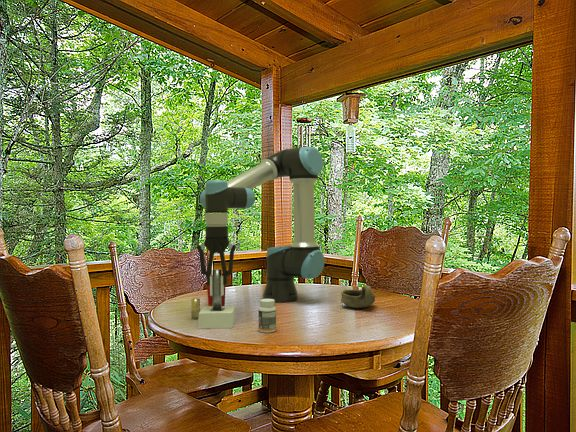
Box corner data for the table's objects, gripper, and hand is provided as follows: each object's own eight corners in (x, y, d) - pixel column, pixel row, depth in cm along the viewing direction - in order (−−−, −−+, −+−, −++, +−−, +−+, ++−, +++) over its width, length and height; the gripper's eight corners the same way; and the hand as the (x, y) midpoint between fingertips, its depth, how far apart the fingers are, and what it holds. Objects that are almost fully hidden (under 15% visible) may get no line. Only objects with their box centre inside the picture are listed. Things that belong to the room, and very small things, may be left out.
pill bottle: (258, 328, 149) (258, 298, 149) (275, 328, 150) (275, 298, 150) (258, 333, 144) (258, 301, 144) (276, 332, 144) (276, 301, 144)
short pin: (200, 317, 166) (200, 298, 166) (198, 319, 163) (199, 299, 163) (192, 317, 166) (192, 298, 166) (190, 319, 163) (190, 299, 163)
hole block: (235, 320, 161) (235, 306, 161) (232, 328, 150) (232, 312, 150) (203, 320, 161) (203, 306, 161) (198, 328, 150) (198, 313, 150)
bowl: (366, 303, 190) (366, 279, 190) (385, 312, 173) (385, 285, 173) (335, 305, 186) (335, 280, 186) (351, 314, 169) (351, 287, 169)
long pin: (222, 309, 157) (221, 269, 157) (221, 311, 154) (220, 270, 154) (213, 309, 157) (213, 269, 157) (212, 311, 154) (211, 270, 154)
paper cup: (230, 312, 173) (230, 275, 173) (221, 317, 166) (220, 278, 166) (212, 311, 176) (211, 275, 176) (202, 315, 169) (201, 277, 169)
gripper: (241, 225, 159) (241, 292, 159) (194, 225, 159) (195, 293, 159) (239, 226, 152) (239, 296, 152) (190, 226, 151) (191, 297, 151)
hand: (217, 294), depth 155 cm, fingers closed on long pin, 3 cm apart
